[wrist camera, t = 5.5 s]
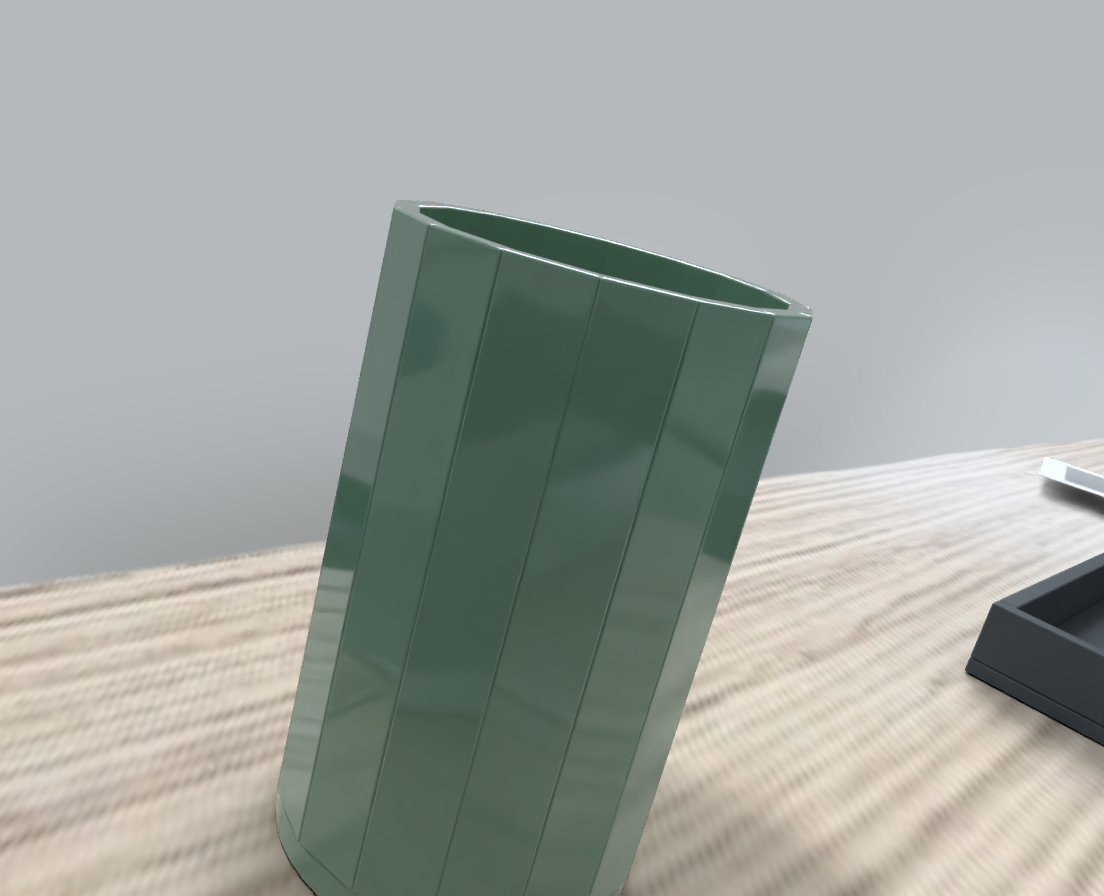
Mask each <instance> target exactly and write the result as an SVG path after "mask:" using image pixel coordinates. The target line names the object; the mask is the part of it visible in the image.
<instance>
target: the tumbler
mask: <svg viewBox="0 0 1104 896" xmlns="http://www.w3.org/2000/svg"><path fill="white" fill-rule="evenodd" d="M812 315H813V311H812V309H810V308H809V307H807V306H805V305H803V304H800V303H799V302H797V301H795V300H793V299H791V298H789V297H786V296H785V295H782V294H780V293H777V292H774V291H772V290H769V289H766V288H764V287H761V286H758V285H755V284H753V283H750V282H747V281H744V280H742V279H739V278H736V277H733V276H730V275H727V274H723V273H720V272H717V271H714V270H711V269H708V268H704V267H702V266H698V265H695V264H692V263H689V262H685V261H682V260H679V259H675V258H672V257H669V256H665V255H662V254H658V253H655V252H651V251H647V250H644V249H640V248H637V247H633V246H630V245H626V244H622V243H619V242H615V241H612V240H607V239H604V238H600V237H595V236H592V235H588V234H584V233H580V232H576V231H572V230H568V229H564V228H560V227H556V226H552V225H548V224H542V223H539V222H535V221H530V220H525V219H521V218H516V217H511V216H506V215H502V214H497V213H493V212H488V211H484V210H479V209H472V208H466V207H460V206H454V205H448V204H442V203H436V202H430V201H410V200H397V201H396V203H395V206H394V209H393V213H392V218H391V223H390V228H389V233H388V239H387V243H386V248H385V253H384V258H383V263H382V268H381V273H380V278H379V283H378V288H377V293H376V298H375V303H374V308H373V313H372V318H371V323H370V328H369V333H368V338H367V343H366V348H365V353H364V358H363V363H362V368H361V373H360V378H359V383H358V388H357V394H356V398H355V403H354V408H353V413H352V418H351V423H350V428H349V433H348V438H347V443H346V448H345V453H344V458H343V463H342V468H341V473H340V478H339V482H338V488H337V492H336V497H335V503H334V507H333V512H332V517H331V522H330V527H329V532H328V538H327V542H326V547H325V552H324V557H323V562H322V567H321V572H320V577H319V582H318V587H317V592H316V597H315V602H314V607H313V612H312V617H311V622H310V627H309V632H308V637H307V642H306V647H305V652H304V657H303V662H302V667H301V672H300V677H299V682H298V687H297V692H296V697H295V702H294V707H293V712H292V717H291V722H290V727H289V732H288V737H287V742H286V747H285V752H284V757H283V762H282V767H281V772H280V777H279V782H278V787H277V788H278V789H277V795H276V804H275V814H276V825H277V829H278V832H279V836H280V839H281V843H282V845H283V848H284V850H285V852H286V854H287V856H288V858H289V860H290V862H291V863H292V865H293V866H294V868H295V869H296V871H297V872H298V874H299V875H300V876H301V878H302V879H303V880H304V881H305V882H306V884H307V885H308V886H309V887H310V888H311V889H312V890H313V891H314V892H315V893H316V894H317V895H318V896H620V894H621V892H622V889H623V887H624V884H625V881H626V879H627V878H628V875H629V872H630V869H631V866H632V863H633V860H634V857H635V854H636V851H637V848H638V845H639V842H640V839H641V836H642V833H643V830H644V826H645V823H646V820H647V817H648V814H649V811H650V808H651V805H652V802H653V799H654V796H655V793H656V790H657V787H658V784H659V781H660V778H661V775H662V772H663V769H664V766H665V763H666V760H667V757H668V754H669V751H670V748H671V745H672V742H673V739H674V736H675V733H676V730H677V727H678V724H679V721H680V718H681V715H682V712H683V709H684V706H685V703H686V700H687V697H688V693H689V690H690V687H691V684H692V681H693V678H694V675H695V672H696V669H697V666H698V663H699V660H700V657H701V654H702V651H703V648H704V645H705V642H706V639H707V636H708V633H709V630H710V627H711V624H712V621H713V618H714V615H715V612H716V609H717V606H718V603H719V600H720V597H721V594H722V591H723V588H724V585H725V582H726V579H727V576H728V573H729V570H730V567H731V564H732V560H733V557H734V554H735V551H736V548H737V545H738V542H739V539H740V536H741V533H742V530H743V527H744V524H745V521H746V518H747V515H748V512H749V509H750V506H751V503H752V500H753V497H754V494H755V491H756V488H757V485H758V482H759V479H760V476H761V473H762V470H763V467H764V464H765V461H766V458H767V455H768V451H769V449H770V446H771V443H772V439H773V437H774V433H775V431H776V427H777V424H778V421H779V418H780V415H781V412H782V409H783V406H784V403H785V400H786V397H787V394H788V391H789V388H790V385H791V382H792V379H793V376H794V373H795V370H796V367H797V364H798V361H799V358H800V355H801V352H802V349H803V346H804V342H805V340H806V337H807V334H808V330H809V328H810V325H811V322H812Z"/></svg>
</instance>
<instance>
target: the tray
mask: <svg viewBox="0 0 1104 896" xmlns="http://www.w3.org/2000/svg"><path fill="white" fill-rule="evenodd" d="M965 671H966V672H968V673H970V674H972V675H974V676H976V677H978V678H979V679H981V680H983V681H985V682H987V683H989V684H991V685H992V686H994V687H996V688H998V689H1000V690H1002V691H1004V692H1006V693H1007V694H1009V695H1011V696H1013V697H1015V698H1017V699H1019V700H1021V701H1022V702H1024V703H1026V704H1028V705H1030V706H1032V707H1034V708H1035V709H1037V710H1039V711H1041V712H1043V713H1045V714H1047V715H1049V716H1050V717H1052V718H1054V719H1056V720H1058V721H1060V722H1062V723H1064V724H1065V725H1067V726H1069V727H1071V728H1073V729H1075V730H1077V731H1078V732H1080V733H1082V734H1084V735H1086V736H1088V737H1090V738H1092V739H1093V740H1095V741H1097V742H1099V743H1101V744H1103V745H1104V553H1102V554H1100V555H1098V556H1095V557H1093V558H1091V559H1089V560H1087V561H1084V562H1082V563H1080V564H1078V565H1076V566H1074V567H1071V568H1069V569H1067V570H1065V571H1063V572H1060V573H1058V574H1056V575H1054V576H1052V577H1049V578H1047V579H1045V580H1043V581H1041V582H1038V583H1036V584H1034V585H1032V586H1030V587H1028V588H1025V589H1023V590H1021V591H1019V592H1017V593H1014V594H1012V595H1010V596H1008V597H1006V598H1003V599H1001V600H1000V601H997V602H995V603H993V604H992V606H991V609H990V611H989V613H988V616H987V618H986V621H985V623H984V625H983V628H982V630H981V632H980V635H979V637H978V640H977V642H976V644H975V647H974V649H973V652H972V654H971V658H970V659H969V661H968V663H967V666H966V668H965Z"/></svg>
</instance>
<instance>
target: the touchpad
mask: <svg viewBox="0 0 1104 896" xmlns="http://www.w3.org/2000/svg"><path fill="white" fill-rule="evenodd" d="M1039 475H1041V476H1044V477H1047V478H1050V479H1053V480H1056V481H1059V482H1062V483H1065V484H1067V485H1070V486H1073V487H1076V488H1079V489H1082V490H1085V491H1088V492H1091V493H1094V494H1097V495H1100V496H1102V497H1104V476H1102V475H1099V474H1096V473H1093V472H1090V471H1087V470H1084V469H1081V468H1078V467H1075V466H1072V465H1069V464H1066V463H1063V462H1060V461H1057V460H1054V459H1051V458H1048V457H1045V458H1044V461H1043V464H1042V467H1041V470H1040V473H1039Z"/></svg>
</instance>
